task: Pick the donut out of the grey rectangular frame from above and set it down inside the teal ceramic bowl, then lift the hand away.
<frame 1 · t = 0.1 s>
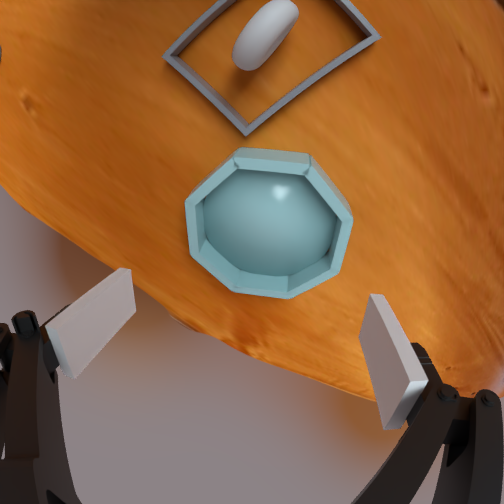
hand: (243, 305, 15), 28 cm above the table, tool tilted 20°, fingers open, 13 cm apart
bowl: (268, 221, 44), on the table
grey rectangular frame: (269, 38, 27), on the table
donut: (269, 38, 28), resting in grey rectangular frame
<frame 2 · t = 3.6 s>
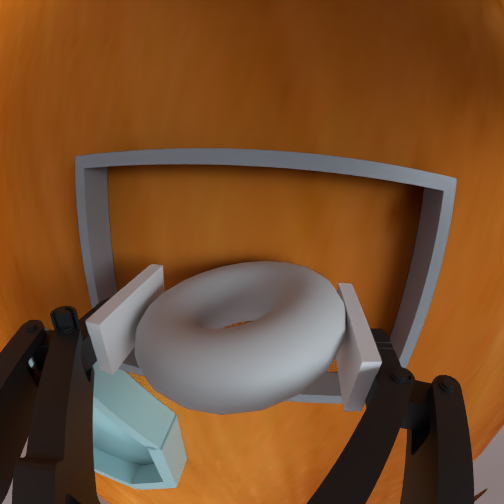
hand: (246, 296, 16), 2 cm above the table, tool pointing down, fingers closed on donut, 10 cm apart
bowl: (94, 410, 26), on the table
grey rectangular frame: (251, 280, 18), on the table
donut: (252, 279, 18), resting in grey rectangular frame, touching gripper
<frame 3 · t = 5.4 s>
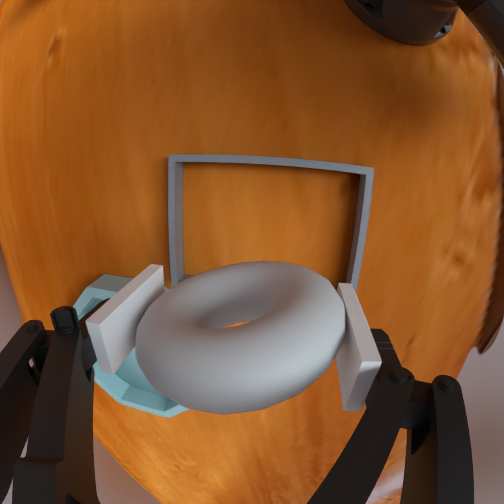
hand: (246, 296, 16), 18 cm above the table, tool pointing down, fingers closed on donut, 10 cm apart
bowl: (141, 344, 41), on the table
grey rectangular frame: (266, 226, 32), on the table
donut: (252, 279, 18), point 15 cm above the table, touching gripper
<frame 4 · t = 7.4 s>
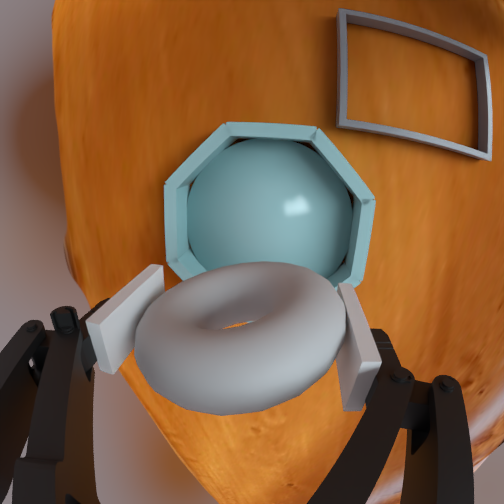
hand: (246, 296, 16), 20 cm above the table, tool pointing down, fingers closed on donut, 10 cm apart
bowl: (268, 222, 35), on the table
grey rectangular frame: (419, 84, 26), on the table
donut: (252, 279, 18), point 18 cm above the table, touching gripper
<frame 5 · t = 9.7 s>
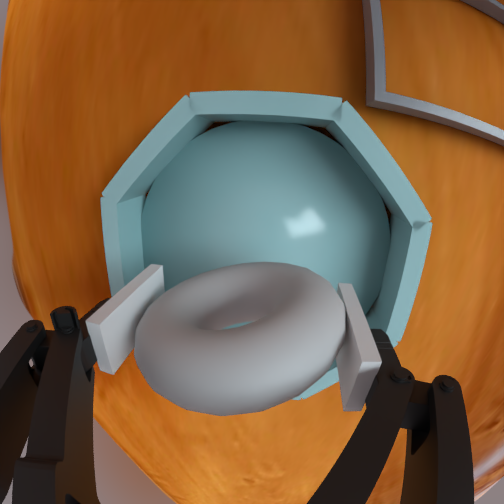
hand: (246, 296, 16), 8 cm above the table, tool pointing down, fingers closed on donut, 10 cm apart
bowl: (261, 251, 23), on the table
grey rectangular frame: (472, 57, 14), on the table
donut: (252, 279, 18), point 5 cm above the table, touching gripper
when the fingers open (5 cm above the table, at t = 11.4 s): donut drops 1 cm, resting on bowl.
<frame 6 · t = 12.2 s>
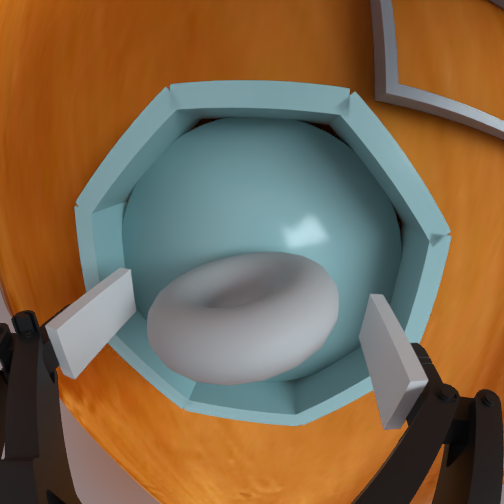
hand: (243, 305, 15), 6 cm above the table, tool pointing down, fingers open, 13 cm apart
bowl: (255, 266, 20), on the table
grey rectangular frame: (487, 50, 12), on the table
donut: (253, 269, 19), point 1 cm above the table, touching bowl
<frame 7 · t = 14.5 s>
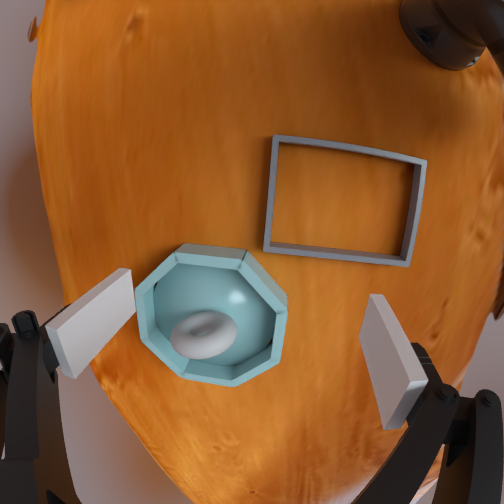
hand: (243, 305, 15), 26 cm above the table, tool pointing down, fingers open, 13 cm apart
bowl: (212, 314, 46), on the table
grey rectangular frame: (345, 201, 38), on the table
donut: (211, 316, 45), point 1 cm above the table, touching bowl
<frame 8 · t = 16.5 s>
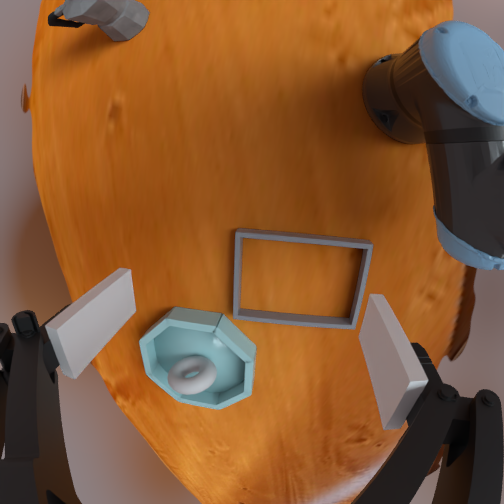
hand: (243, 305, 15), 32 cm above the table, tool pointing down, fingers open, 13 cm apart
bowl: (200, 356, 56), on the table
coffeepot: (124, 25, 37), on the table
grey rectangular frame: (300, 278, 48), on the table
donut: (199, 358, 56), point 1 cm above the table, touching bowl
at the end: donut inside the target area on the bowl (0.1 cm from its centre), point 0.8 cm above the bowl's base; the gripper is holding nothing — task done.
